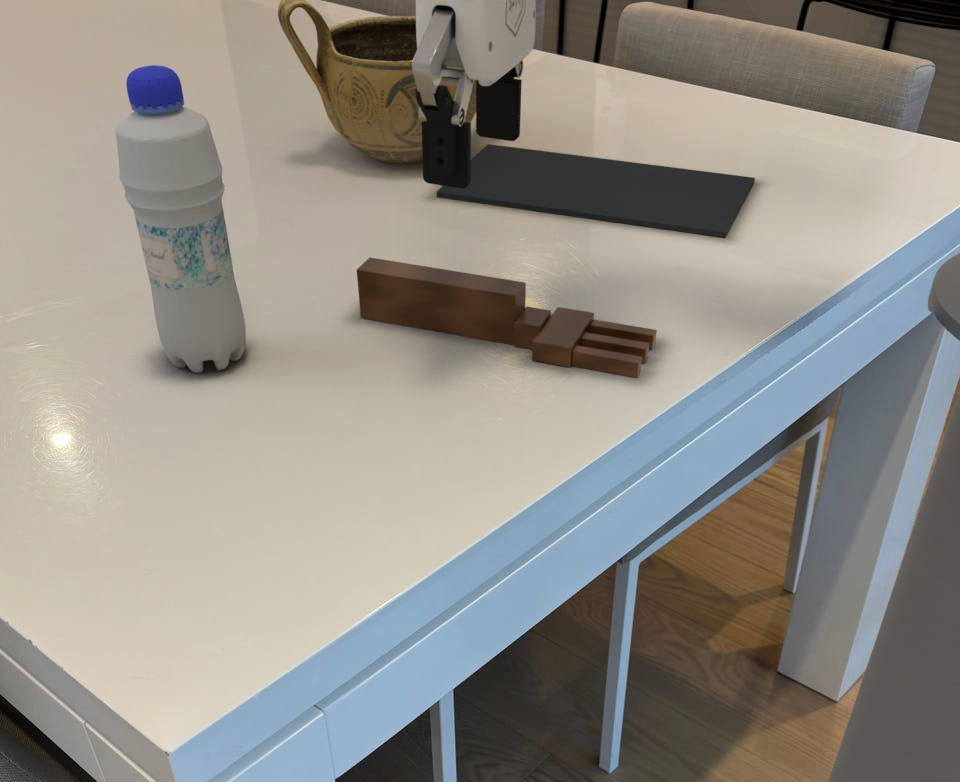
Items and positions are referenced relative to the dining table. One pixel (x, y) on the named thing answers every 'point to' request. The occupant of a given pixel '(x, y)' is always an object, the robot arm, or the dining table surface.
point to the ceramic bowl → (368, 81)
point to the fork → (498, 316)
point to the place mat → (605, 189)
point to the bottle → (180, 221)
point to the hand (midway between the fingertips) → (473, 159)
